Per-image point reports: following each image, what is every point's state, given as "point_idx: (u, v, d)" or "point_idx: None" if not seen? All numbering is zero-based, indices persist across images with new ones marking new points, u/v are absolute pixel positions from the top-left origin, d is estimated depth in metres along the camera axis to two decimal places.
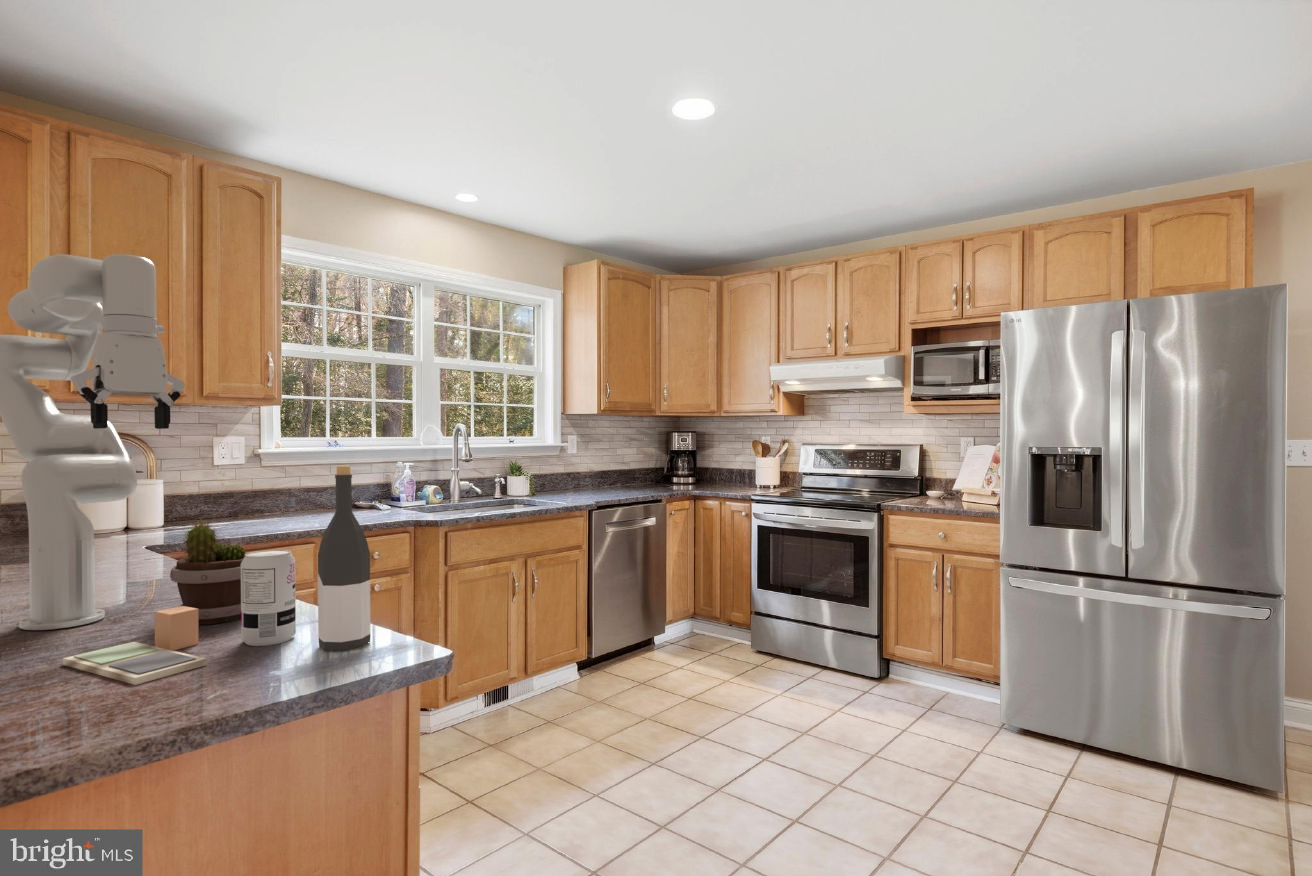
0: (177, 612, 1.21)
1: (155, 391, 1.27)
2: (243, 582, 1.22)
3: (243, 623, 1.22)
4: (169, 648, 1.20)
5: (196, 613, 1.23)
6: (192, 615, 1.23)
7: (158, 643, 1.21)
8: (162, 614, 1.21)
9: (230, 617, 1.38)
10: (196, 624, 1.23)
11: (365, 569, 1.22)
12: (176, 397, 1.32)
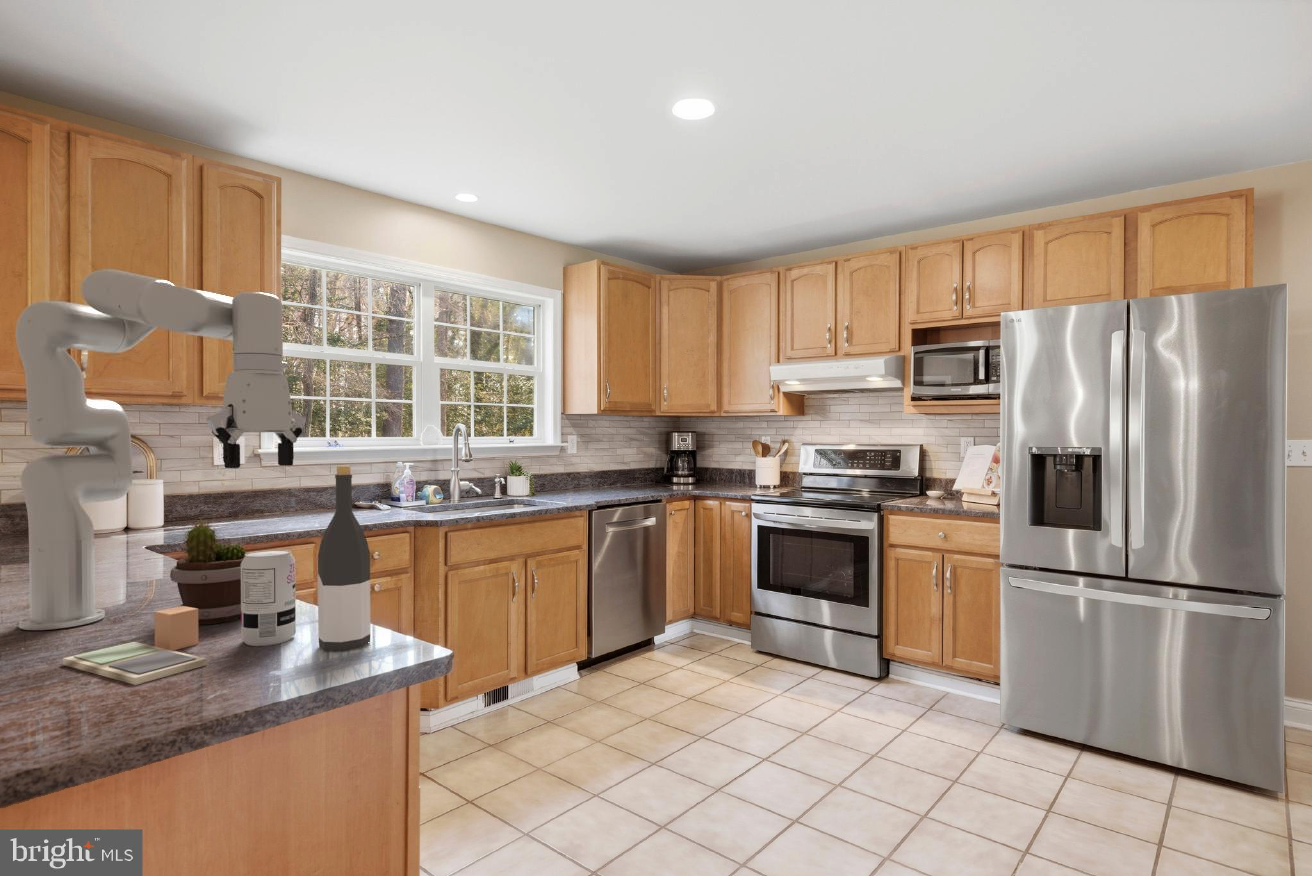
0: (177, 612, 1.21)
1: (281, 429, 1.26)
2: (243, 582, 1.22)
3: (243, 623, 1.22)
4: (169, 648, 1.20)
5: (196, 613, 1.23)
6: (192, 615, 1.23)
7: (158, 643, 1.21)
8: (162, 614, 1.21)
9: (230, 617, 1.38)
10: (196, 624, 1.23)
11: (365, 569, 1.22)
12: (298, 433, 1.31)
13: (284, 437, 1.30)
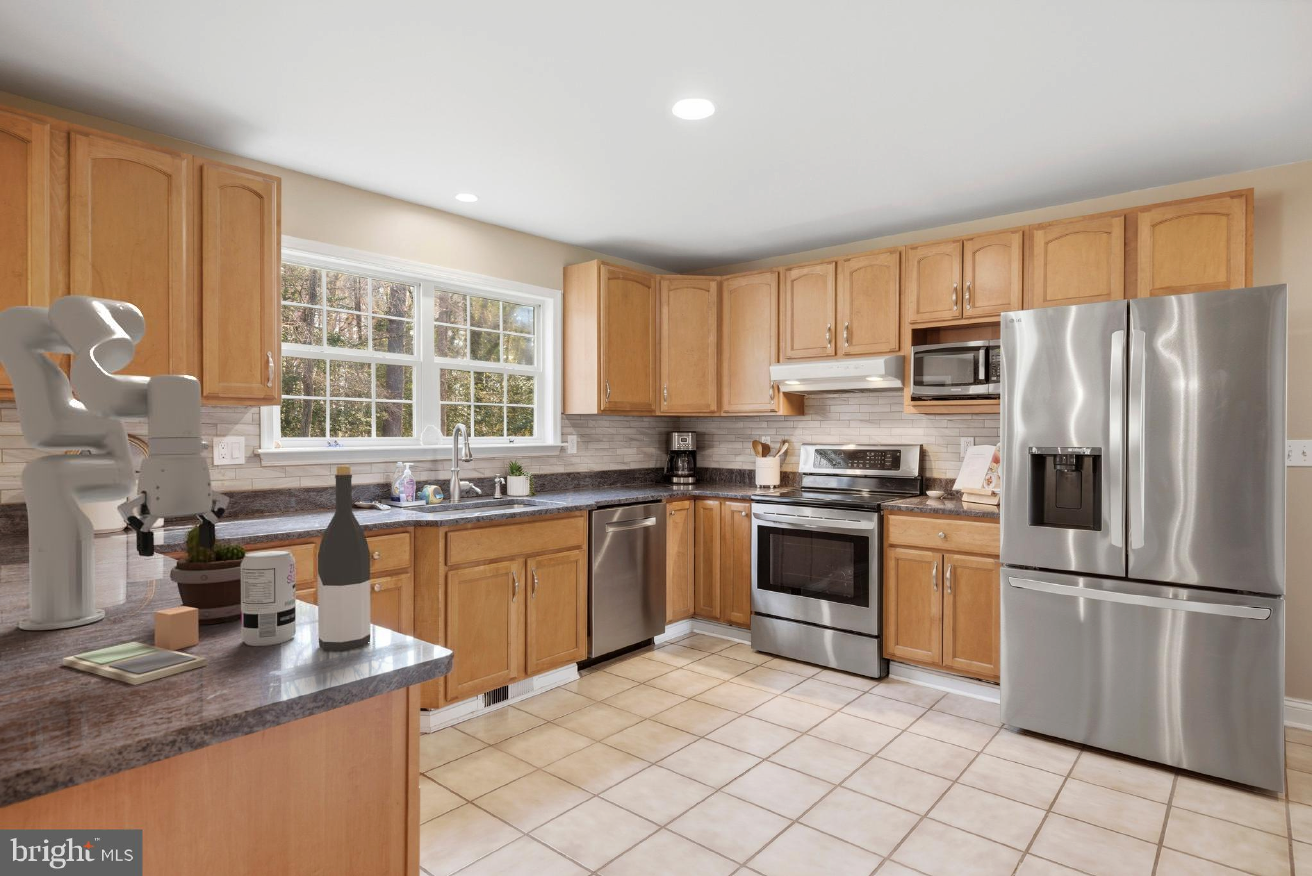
0: (177, 612, 1.21)
1: (200, 512, 1.24)
2: (243, 582, 1.22)
3: (243, 623, 1.22)
4: (169, 648, 1.20)
5: (196, 613, 1.23)
6: (192, 615, 1.23)
7: (158, 643, 1.21)
8: (162, 614, 1.21)
9: (230, 617, 1.38)
10: (196, 624, 1.23)
11: (365, 569, 1.22)
12: (221, 514, 1.28)
13: (205, 518, 1.27)
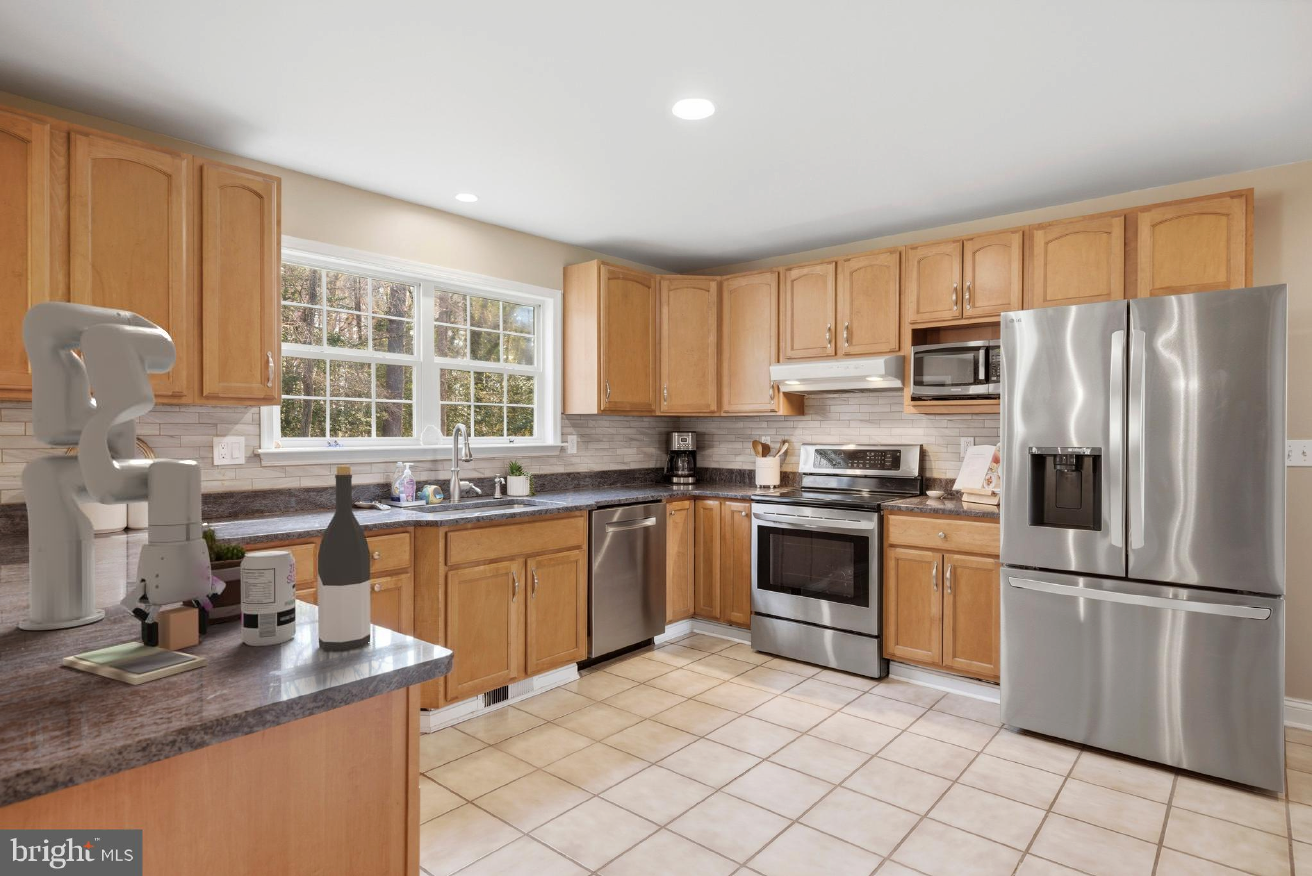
0: (177, 612, 1.21)
1: (199, 595, 1.24)
2: (243, 582, 1.22)
3: (243, 623, 1.22)
4: (169, 648, 1.20)
5: (196, 613, 1.23)
6: (192, 615, 1.23)
7: None
8: (162, 614, 1.21)
9: (230, 617, 1.38)
10: (196, 624, 1.23)
11: (365, 569, 1.22)
12: (214, 599, 1.27)
13: (200, 603, 1.26)
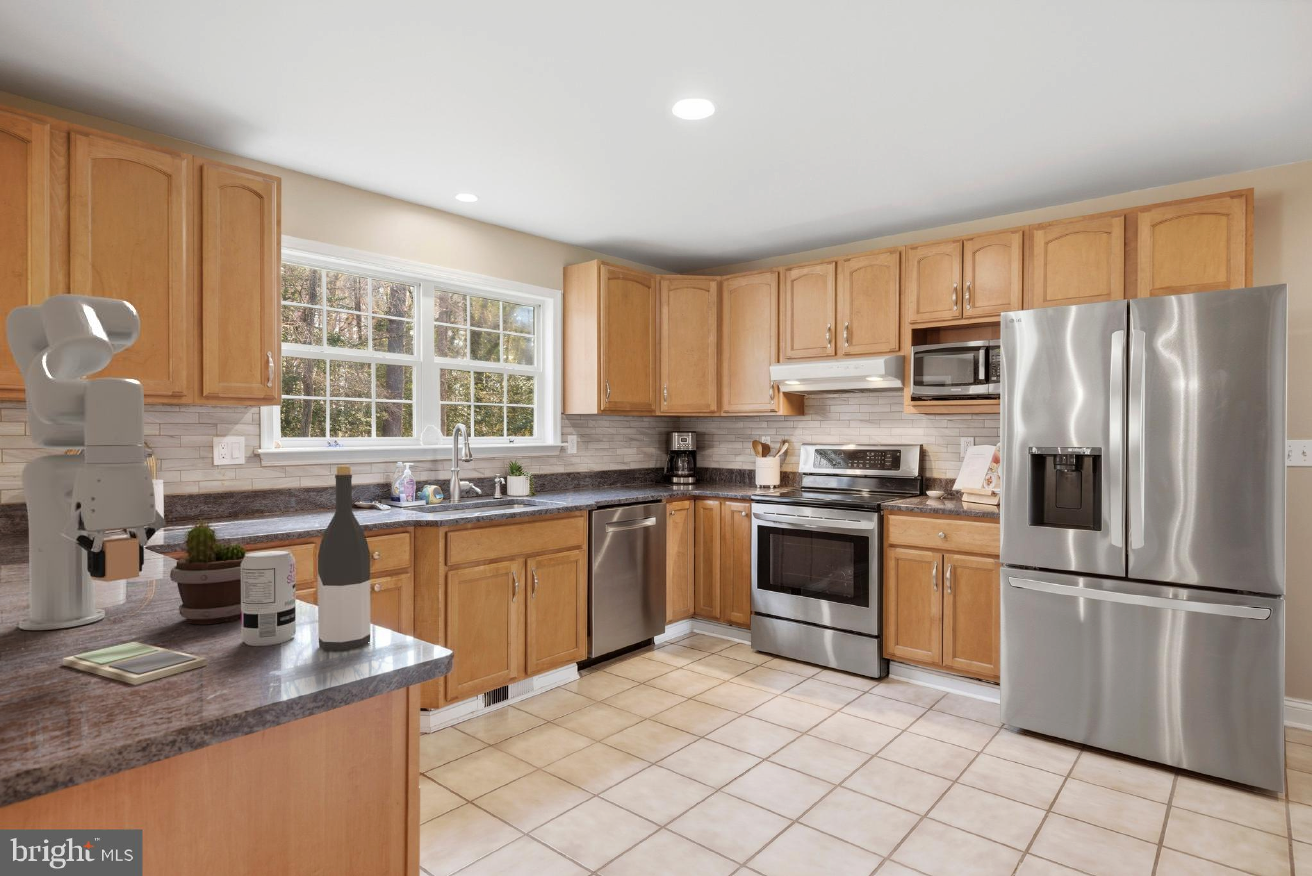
0: (115, 541, 1.13)
1: (141, 524, 1.16)
2: (243, 582, 1.22)
3: (243, 623, 1.22)
4: (106, 579, 1.12)
5: (136, 544, 1.15)
6: (132, 545, 1.15)
7: None
8: None
9: (230, 617, 1.38)
10: (136, 555, 1.15)
11: (365, 569, 1.22)
12: (149, 534, 1.18)
13: None
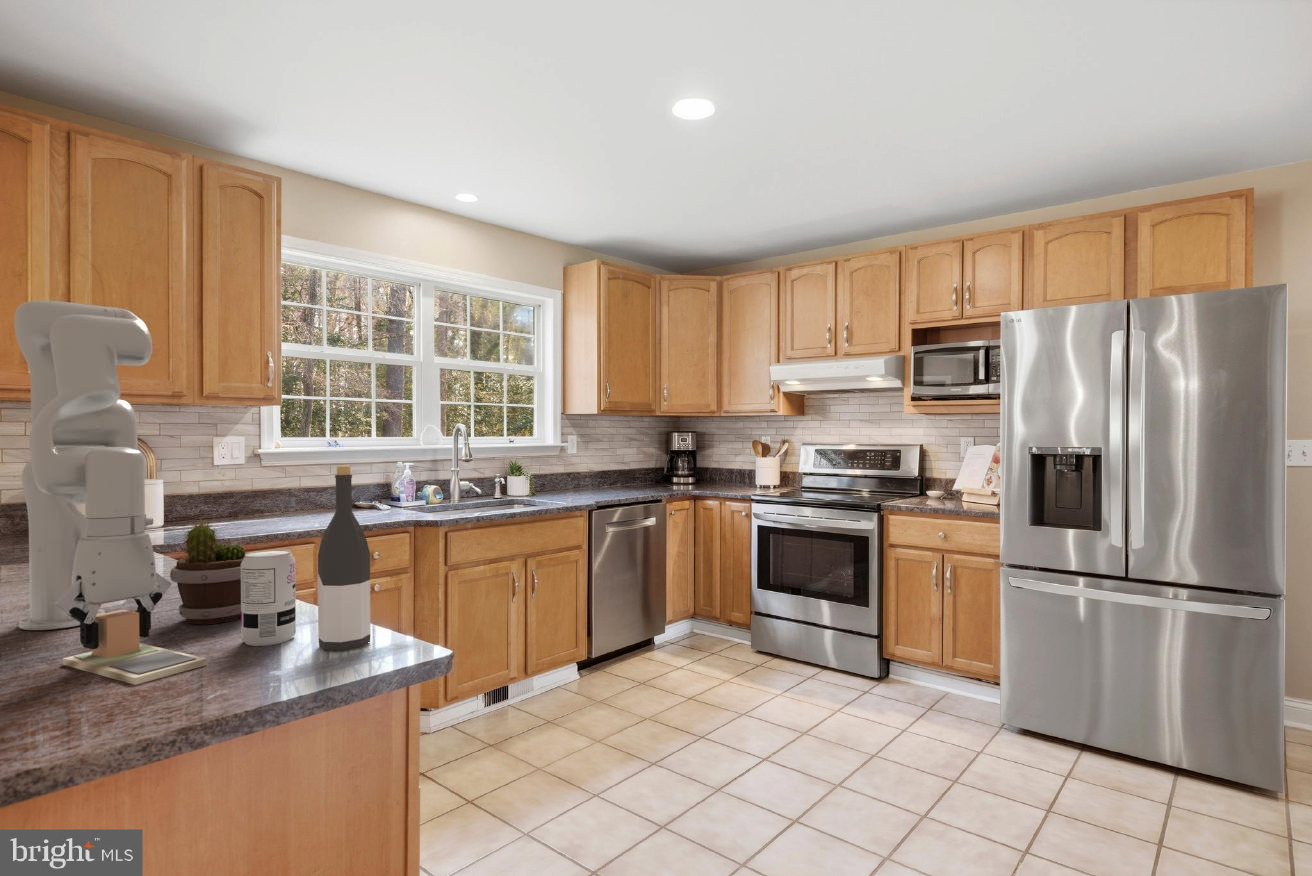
0: (115, 616, 1.13)
1: (142, 593, 1.16)
2: (243, 582, 1.22)
3: (243, 623, 1.22)
4: (106, 655, 1.12)
5: (136, 618, 1.15)
6: (132, 619, 1.15)
7: (95, 649, 1.13)
8: (99, 618, 1.13)
9: (230, 617, 1.38)
10: (137, 629, 1.15)
11: (365, 569, 1.22)
12: (157, 599, 1.19)
13: (141, 604, 1.18)
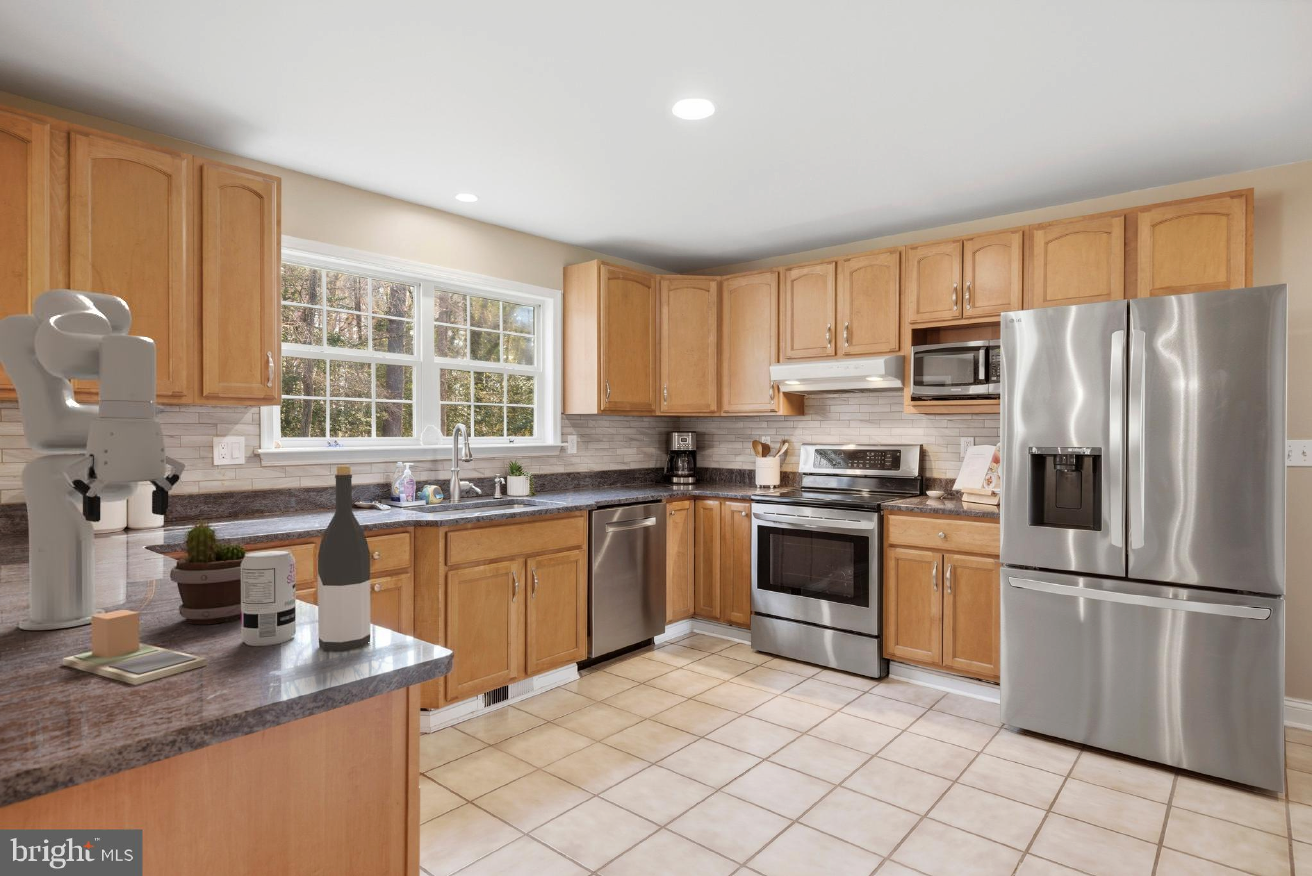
0: (115, 616, 1.13)
1: (152, 478, 1.20)
2: (243, 582, 1.22)
3: (243, 623, 1.22)
4: (106, 655, 1.12)
5: (136, 618, 1.15)
6: (132, 619, 1.15)
7: (95, 649, 1.13)
8: (99, 618, 1.13)
9: (230, 617, 1.38)
10: (137, 629, 1.15)
11: (365, 569, 1.22)
12: (175, 480, 1.24)
13: (159, 484, 1.23)
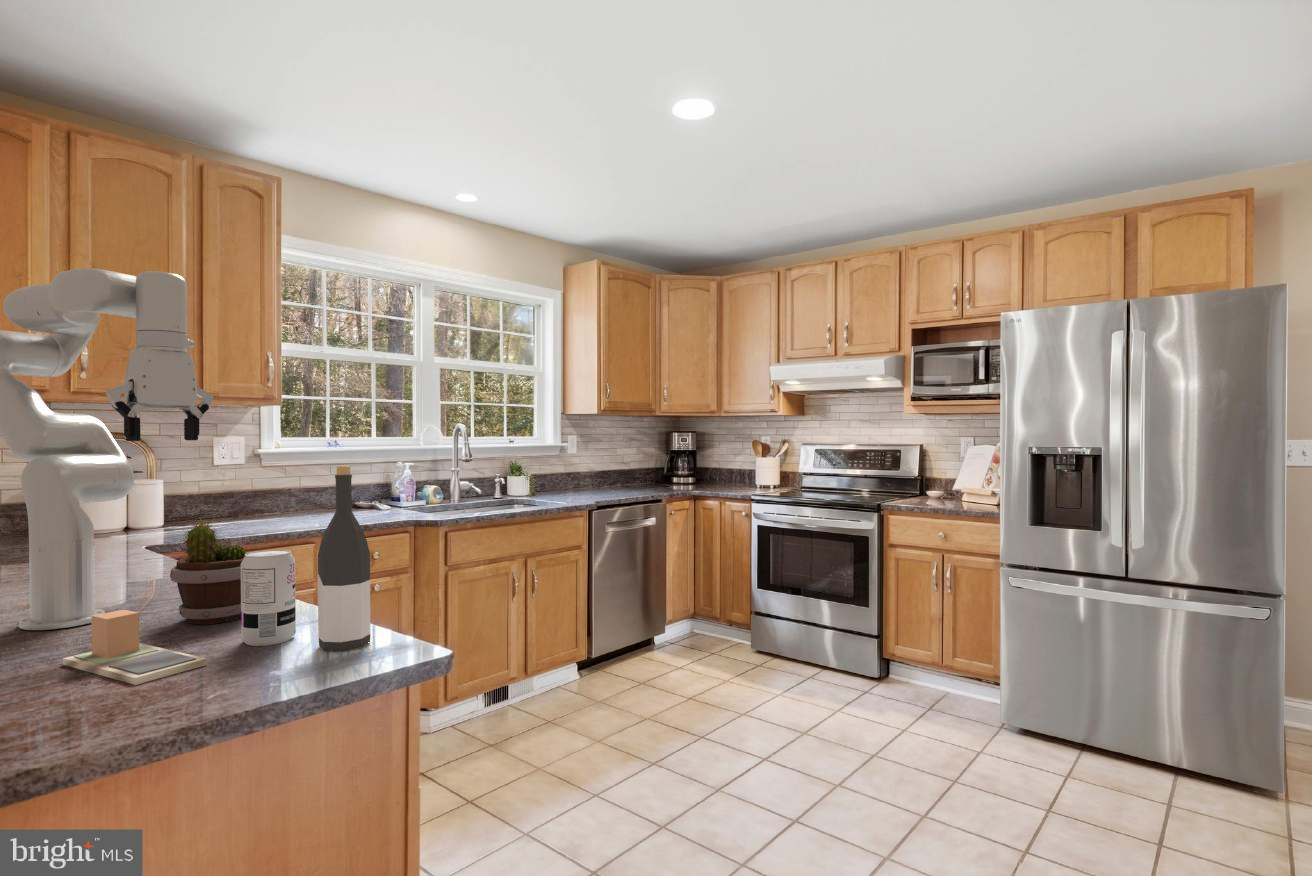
0: (115, 616, 1.13)
1: (185, 404, 1.31)
2: (243, 582, 1.22)
3: (243, 623, 1.22)
4: (106, 655, 1.12)
5: (136, 618, 1.15)
6: (132, 619, 1.15)
7: (95, 649, 1.13)
8: (99, 618, 1.13)
9: (230, 617, 1.38)
10: (137, 629, 1.15)
11: (365, 569, 1.22)
12: (205, 409, 1.35)
13: (190, 413, 1.34)
